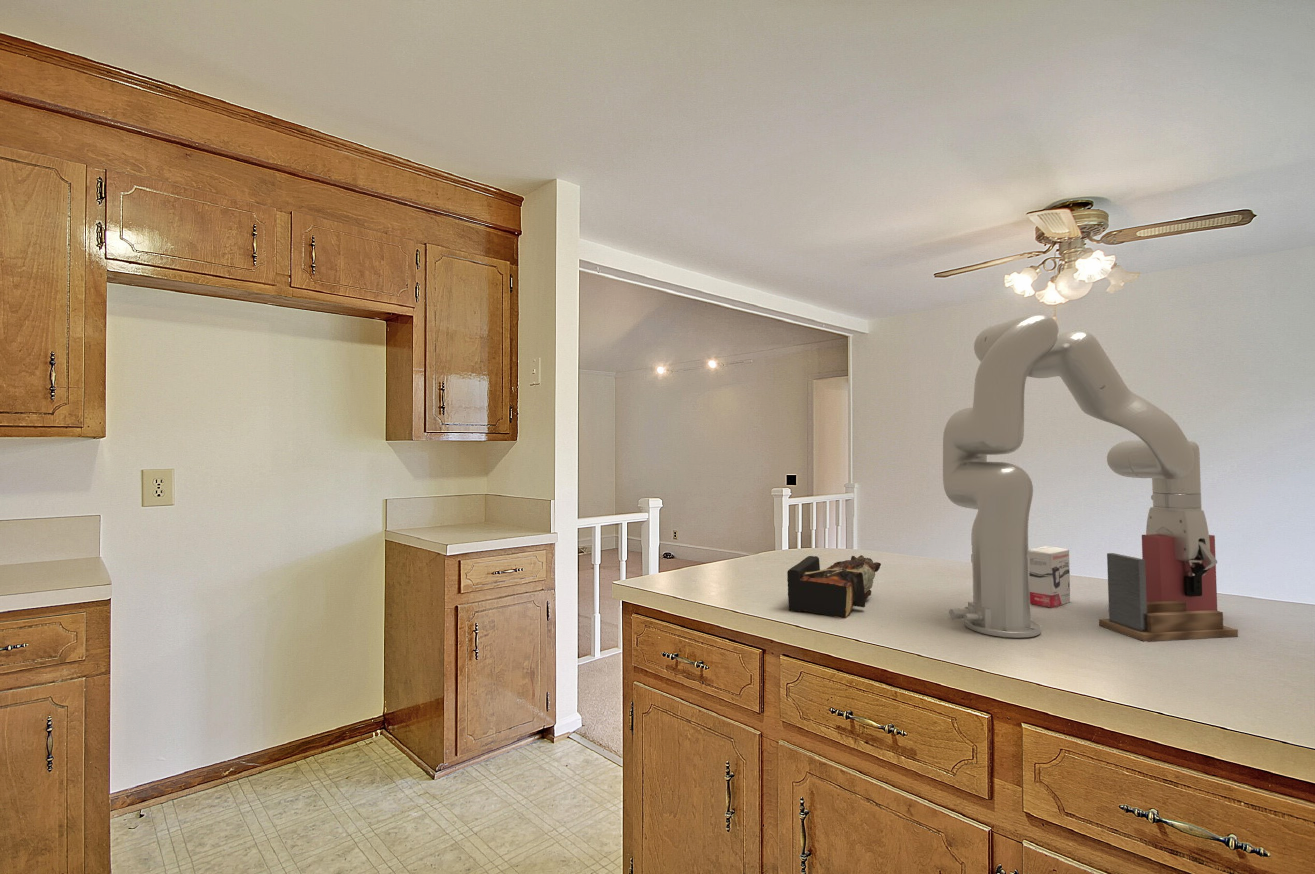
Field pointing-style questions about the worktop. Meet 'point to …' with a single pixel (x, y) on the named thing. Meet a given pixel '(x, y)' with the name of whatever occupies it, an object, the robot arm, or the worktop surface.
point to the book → (1174, 574)
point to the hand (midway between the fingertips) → (1179, 591)
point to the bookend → (830, 585)
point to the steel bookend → (1127, 591)
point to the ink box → (1049, 576)
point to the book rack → (1176, 623)
